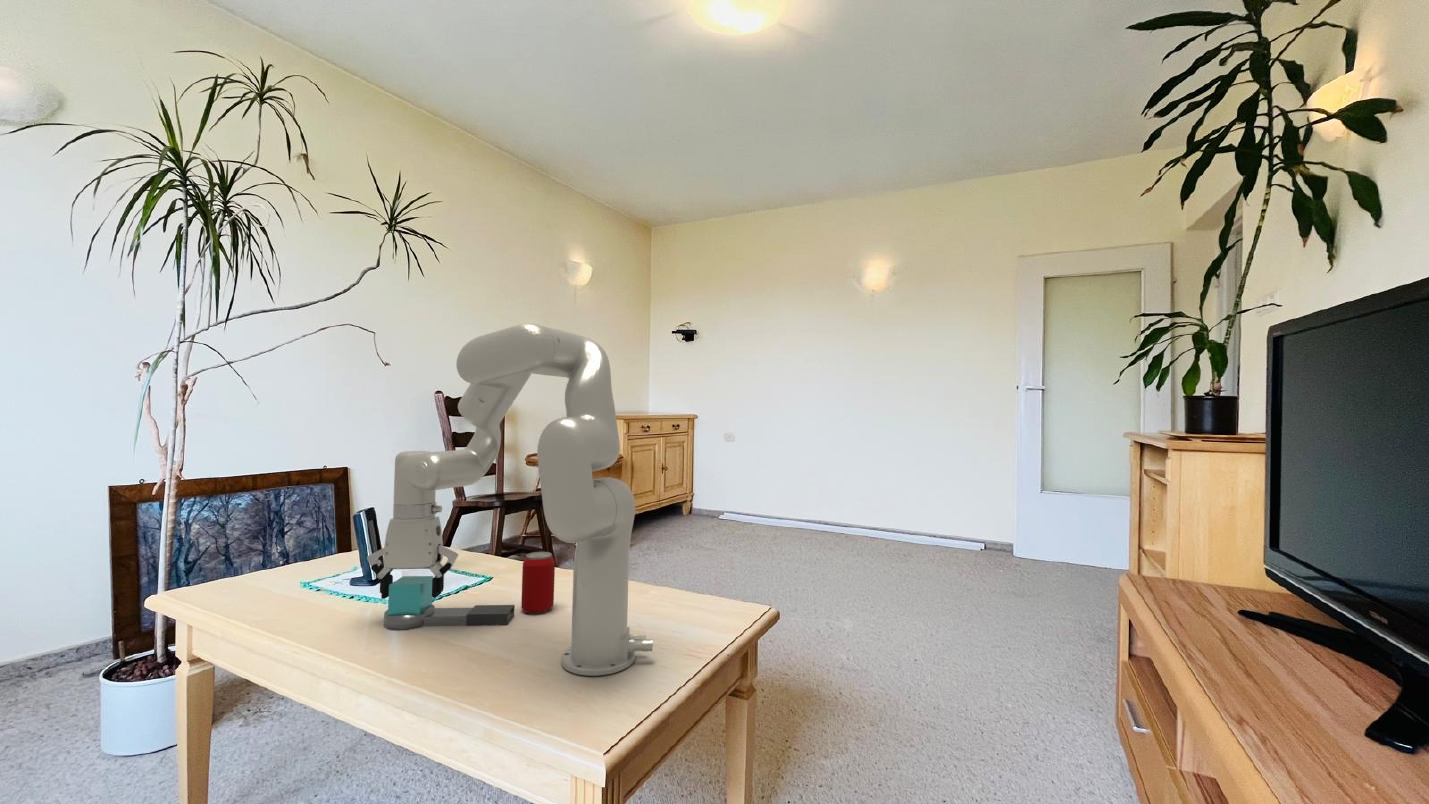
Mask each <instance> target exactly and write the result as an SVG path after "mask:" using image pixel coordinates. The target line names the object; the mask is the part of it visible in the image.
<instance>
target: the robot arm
mask: <svg viewBox="0 0 1429 804" xmlns="http://www.w3.org/2000/svg"><path fill="white" fill-rule="evenodd" d="M456 357H457V358H456V370H457V371H456V372H457V373H458V374H457V375H459V376H460V378H461V379H462V380H463V381H464V382H466V383H468V384H469V385H468V387H467V388H466V389H465V392H464V394H463V395H462V397H461V398H460V400H459V402H458V403H457V409H458V413H459V414H460V415H461V417H462V418H463V419H464V420H465V421H467V422H468V423H469V424H471V425H472V426H473V427H475V431H474V433H473V436H472V438H471V439H470V441H469V443H468V444H467V446H466V447H465V448H464V449H459V450H458V449H457V450H456V449H455V450H443V451H426V450H407V451H406V450H405V451H401V452H398V453H397V454H396V456H395V460H394V475H393V476H394V477H393V478H394V479H393V482H394V483H393V507H392V508H393V509H392V510H393V511H392V512H393V513H392V518H390V519H389V522H388V525H387V529H386V534H385V539H384V540H385V541H384V544H383V545H384V547H383V548H381V549H378V550H377V551H375V552H372V553H371V554H369V555H367V556H366V560H367V563H368V565H369V566H370V569H371V571H373V572H374V574H375V575H377V576H376V577H377V578H378V579H379V593H380V595H381V596H380V599H381V600H385V599H387V598H389V585H390V584H392V583H393V582H394V581H393V580H394V576H393V574H391V573H392V572H393V571H394V570H420V569H423V570H424V569H427V570H430V572H431V573H432V574H433V579H432V597H433V598H432V599H435V598H437V597H439V596H440V595H441V594H442V593H443V591H444V587H445V586H444V584H445V574H446V573H447V572H448V571H450V569H452V567H453V566H454V564H455V563H456V561H457V559H458V557H459V554H458V553H457V552H456V551H454V550H451V549H449V548H448V547H446V546H444V542H443V532H442V525H441V519H440V516H437V514H438V513H442V511H443V506H442V505H437V501H436V491H438V490H446V489H451V488H452V489H453V488H459V487H467V486H471V485H474V484H476V483H477V482H479V481H480V480H482V478H483V477H484V476H485V475H486V474H487V472H488V471H489V470H490V468H491V466H492V465H493V463H494V462H495V460H496V459H497V457H498V455H499V452H500V448H501V442H502V441H501V440H502V431H501V428H500V427H501V426H500V424H501V423H502V421H503V419H504V417H505V416H506V414H507V413H508V411H509V410H510V408H511V407H512V405H513V404H514V402H515V401H516V399H517V397H518V396H519V394H520V392H521V391H522V389H524V386H525V385H526V383H527V382H528V380H529V379H530V377H531V375H533V374H534V375H540V376H547V377H548V376H550V377H560V378H561V377H562V378H566V379H568V380H567V383H566V387H565V389H564V405H565V411H566V413H565V414H566V416H564V417H559V418H557V419H554V420H552V421H550V422H549V423H548V424H547V425H546V426H545V427H544V429H543V430H542V432H541V433H540V436H539V439H538V444H537V449H536V450H537V451H536V452H537V455H536V456H537V465H538V475H539V481H540V482H539V484H540V490H541V491H540V492H541V501H542V506H543V507H542V508H543V513H544V519H545V522H546V524H547V525H546V526H547V528H548V529H549V531H550V532H551V535H553V536H554V537H555V538H556V539H557V540H559V541H561V542H564V543H569V544H576V546H575V550H574V557H573V571H572V573H573V578H572V607H571V608H572V609H571V610H572V612H571V614H572V616H571V642H570V644H571V645H570V646H569V647H568V648H566V649H565V650H564V651H563V653H562V655H561V665H562V667H563V668H564V670H567V672H569V673H572V674H575V675H580V676H589V677H590V676H591V677H592V676H593V677H594V676H595V677H597V676H605V675H611V674H615V673H618V672H621V671H624V670H625V669H627V668H629V667H630V666H631V665H632V664H633V663H634V662H635V660H636V652H653V639H647V635H633V633H632V634H631V633H630V626H628V613H629V612H628V606H629V605H628V604H629V575H630V574H629V571H630V547H631V539H632V538H631V537H632V532H633V526H634V520H635V515H636V514H635V513H636V500H635V496H634V493H633V492H632V489H631V488H630V487H629V486H628V484H626V483H625V482H623V481H622V480H620V479H617V478H616V477H614V478H613V477H600V478H593V472H597V471H601V470H606V469H608V468H610V467H611V466H613V465H614V464H615V463H616V462H617V461H618V458H619V457H620V452H621V442H620V436H619V428H618V422H617V416H616V415H617V414H616V413H617V412H616V407H615V399H614V395H613V390H612V389H613V388H612V374H611V373H612V372H611V366H610V360H609V357H608V355H607V353H606V351H605V350H604V348H603V347H602V345H600V344H599V343H598V342H596V341H595V340H593V339H591V338H588V337H585V336H583V335H579V334H577V333H576V334H575V333H572V332H569V331H565V330H560V329H557V328H551V327H547V326H544V325H540V324H534V323H523V324H517V325H513V326H510V327H506V328H503V329H500V330H495V331H493V332H489V333H486V334H483V335H482V334H481V335H480V336H477V337H475V338H472V339H470V340H469V341H468V342H467V343H465V344H464V345H463V346H462V347H461V349H460V351H459V353H458V354H457V356H456ZM382 556H383V564H382V563H380V561H379V558H380V557H382ZM444 557H446V558H447V561H446V562H445V564H444V565H443V564H442V563H441V562H442V561H443V559H444Z"/></svg>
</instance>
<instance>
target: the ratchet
mask: <svg viewBox="0 0 1429 804" xmlns="http://www.w3.org/2000/svg"><path fill="white" fill-rule="evenodd" d="M515 607H516V606H515V604H487V605H486V604H480V605H478V604H476V605H474V606H473V607H436V606H435V605H434V604H432V606H430V607H429V608H428V609H427V610H425V611H424V612H423V613H422V614H421V615H397V616H388V609H387V610H385V611H384V612H383V613H384V614H383V628H384V629H386V630H389V631H394V632H395V631H397V632H400V631H409V630H410V629H411V630H416V629H420V628H422V627H453V626H454V627H463V626H464V627H465V626H466V627H489V626H492V627H493V626H508V625H509V624H510V622H511V621H512V619H513V618H514V617H515V610H516V609H515ZM415 628H416V629H415ZM411 630H410V631H411Z"/></svg>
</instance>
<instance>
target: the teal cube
mask: <svg viewBox="0 0 1429 804" xmlns="http://www.w3.org/2000/svg"><path fill="white" fill-rule="evenodd" d="M433 578H434V575H406V576H405V575H403V576H401V577H400V578H398V579H396V580H394V581H393V583H392V584H390V585H389V596H388V606H387V610H388V616H397V615H421V614H422V613H423V612H424V611H425V610H427V609H428V608H429V607H430V606H432V605H433V599H434V598H433V597H432V579H433Z"/></svg>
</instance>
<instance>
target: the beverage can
mask: <svg viewBox="0 0 1429 804" xmlns="http://www.w3.org/2000/svg"><path fill="white" fill-rule="evenodd" d="M555 566H556V562H555V559H554V556H553V554H552V553H551V552H548V551H533V552H530V553H527V554H526V555H525V559H524V561H523V562H522V569H521V570H522V571H521V572H522V573H521V577H522V578H521V610H523V611H524V612H525V613H527V614H531V615H536V614H544V613H546V612H548V611H549V610H551V609H552V608H553V607H554V602H555V601H554V599H555V575H556V574H555V572H556V571H555V570H556V569H555V568H556V567H555Z"/></svg>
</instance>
